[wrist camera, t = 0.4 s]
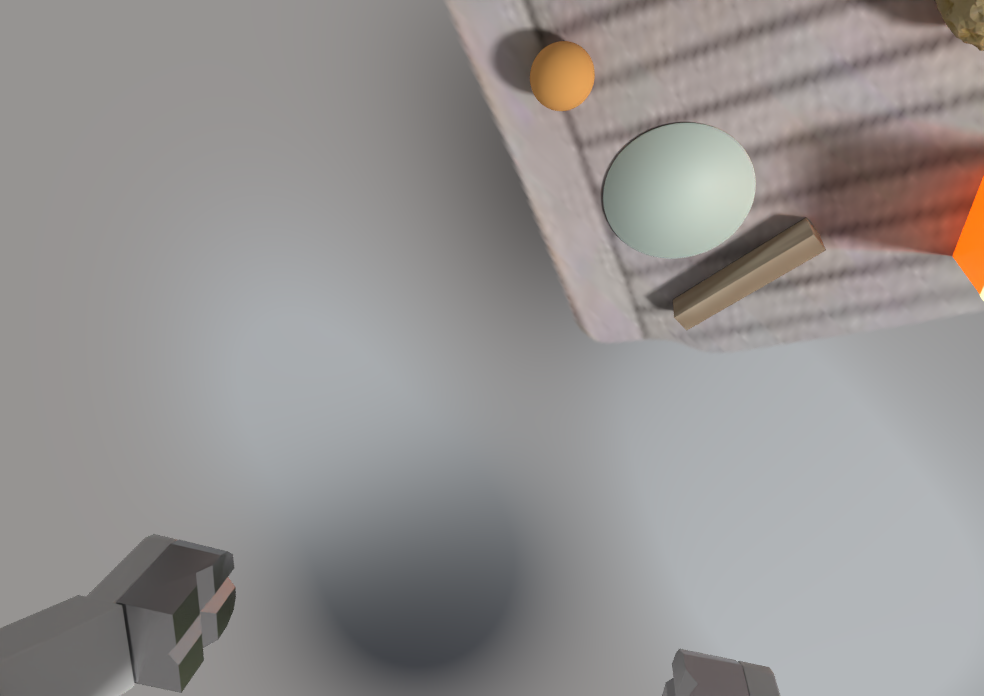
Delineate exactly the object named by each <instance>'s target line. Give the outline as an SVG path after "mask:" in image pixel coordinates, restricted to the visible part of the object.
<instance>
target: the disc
mask: <svg viewBox="0 0 984 696" xmlns="http://www.w3.org/2000/svg"><path fill="white" fill-rule="evenodd" d="M755 187H756V183H755V173H754V169H753V165H752V163H751V160H750V158H749V156H748V155H747V153H746V151H745V150H744V148H743V147H742V146H741V145H740V144H739V143H738V142H737V141H736V140H735V139H734V138H733V137H732V136H730V135H728V134H727V133H725V132H724V131H722V130H719V129H717V128H715V127H712V126H709V125H705V124H699V123H674V124H669V125H664V126H661V127H658V128H655V129H653V130H650V131H648V132H646V133H644V134H642V135H641V136H639V137H638V138H636V139H635V140H633V141H632V142H631V143H630V144H629V145H628V146H626V147H625V148H624V149H623V151H622V152H621V153H620V154H619V155H618V156H617V158H616V159H615V161H614V162H613V164H612V166H611V168H610V170H609V172H608V175H607V177H606V180H605V185H604V193H603V203H604V210H605V214H606V217H607V219H608V222H609V224H610V226H611V227H612V229H613V231H614V232H615V233H616V234H617V236H618V237H619V238H620V239H621V240H622V241H623V242H625V243H626V244H627V245H629V246H630V247H632V248H633V249H635V250H637V251H639V252H641V253H644V254H646V255H650V256H653V257H659V258H671V259H673V258H685V257H691V256H694V255H698V254H701V253H703V252H706V251H709V250H711V249H712V248H714V247H716V246H718V245H719V244H721V243H722V242H724V241H725V240H727V239H728V238H729V237H730V236H731V235H732V234H733V233H734V232H735V231H736V230H737V229H738V228H739V227H740V226H741V224H742V223H743V222H744V220H745V218H746V217H747V215H748V213H749V211H750V209H751V206H752V204H753V200H754V196H755Z"/></svg>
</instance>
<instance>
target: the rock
mask: <svg viewBox="0 0 984 696" xmlns="http://www.w3.org/2000/svg"><path fill="white" fill-rule="evenodd" d="M935 1H936V4H937V9H938V11H939V12H940V13H941V15H942V18H943V20H944V21H945V23H946V25H947V26H948V27H949V29H950V30H951V31H952V33H953V34H954V35H955V36H956V37H957V38H959V39H961V40H962V41H963V42H964V43H968V44H972V45H974V46H976V47H977V48H978V49H979V50H983V51H984V0H935Z"/></svg>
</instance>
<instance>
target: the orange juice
mask: <svg viewBox="0 0 984 696" xmlns="http://www.w3.org/2000/svg"><path fill="white" fill-rule="evenodd" d="M953 258H954V259H955V260H956V262H957V263H958V265H959V266H960V267H961V269H962V270H963V271H964V273H965V274H966V276H967V277H968V278H969V280H970V281H971V283H972V284H973V285H974V287H975V288H976V290H977V291H978V292H979V294H980V297H981V298H982V299H983V301H984V176H983V179H982V181H981V184H980V187H979V189H978V192H977V194H976V197H975V199H974V202H973V205H972V207H971V210H970V212H969V215H968V217H967V220H966V223H965V225H964V228H963V230H962V233H961V235H960V238H959V241H958V243H957V246H956V248H955V251H954V253H953Z"/></svg>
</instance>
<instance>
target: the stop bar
mask: <svg viewBox="0 0 984 696" xmlns="http://www.w3.org/2000/svg"><path fill="white" fill-rule="evenodd" d="M825 250H826V249H825V247H824V245H823V242H822V240H821V238H820V236H819V233H818V232H817V230H816V229H815V228H814V227H813V225H812V224H811V223H810V222H809V220H808V219H807V218H805V219H803V220H801V221H800V222H798V223H796V224H795V225H793V226H792V227H790V228H788V229H787V230H785V231H783V232H782V233H780V234H779V235H777V236H775V237H774V238H772V239H770V240H769V241H767V242H766V243H764V244H762V245H761V246H759V247H757V248H756V249H754V250H753V251H751V252H749V253H748V254H746V255H744V256H743V257H741V258H740V259H738V260H736V261H735V262H733V263H732V264H730V265H728V266H727V267H725V268H723V269H722V270H720V271H719V272H717V273H715V274H714V275H712V276H710V277H709V278H707V279H706V280H704V281H702V282H701V283H699V284H697V285H696V286H694V287H693V288H691V289H689V290H688V291H686V292H684V293H683V294H681V295H680V296H678V297H676V298H675V299H673V308H674V318H675V319H676V320H677V321H678V322H679V323H680V324H681V325H682V326H683V327H684V328H685V329H686V330H688V329H690V328H692V327H694V326H695V325H697V324H699V323H700V322H702V321H704V320H706V319H707V318H709V317H711V316H713V315H714V314H716V313H718V312H720V311H721V310H723V309H725V308H726V307H728V306H730V305H732V304H733V303H735V302H737V301H739V300H740V299H742V298H744V297H746V296H747V295H749V294H751V293H753V292H754V291H756V290H758V289H759V288H761V287H763V286H765V285H766V284H768V283H770V282H772V281H773V280H775V279H777V278H779V277H780V276H782V275H784V274H786V273H787V272H789V271H791V270H792V269H794V268H796V267H798V266H799V265H801V264H803V263H805V262H806V261H808V260H810V259H812V258H813V257H815V256H817V255H818V254H820V253H822V252H824V251H825Z"/></svg>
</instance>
